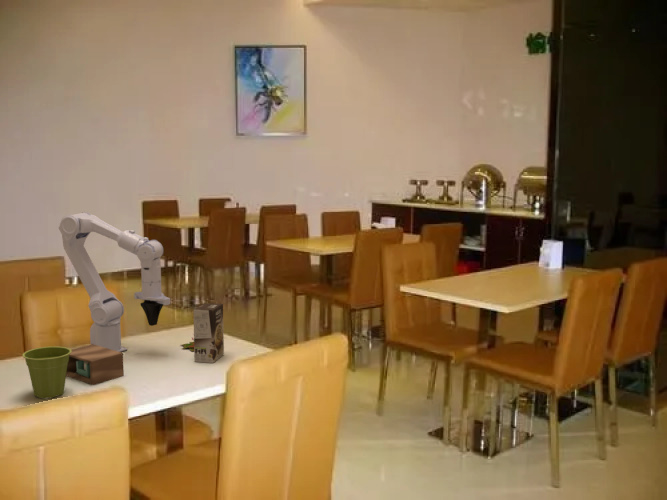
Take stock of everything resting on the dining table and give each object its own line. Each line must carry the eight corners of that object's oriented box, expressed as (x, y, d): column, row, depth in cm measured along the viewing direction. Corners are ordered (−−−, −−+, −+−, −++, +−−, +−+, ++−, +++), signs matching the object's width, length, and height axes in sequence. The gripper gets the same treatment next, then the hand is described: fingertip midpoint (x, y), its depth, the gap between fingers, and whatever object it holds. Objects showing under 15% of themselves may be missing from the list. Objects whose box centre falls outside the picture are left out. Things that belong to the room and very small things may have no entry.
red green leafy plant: (173, 346, 237) (172, 332, 236) (207, 340, 244) (207, 327, 243) (188, 355, 227) (188, 341, 227) (224, 349, 234) (223, 335, 233)
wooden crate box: (63, 374, 208) (61, 352, 207) (93, 366, 215) (92, 344, 214) (93, 385, 199) (91, 361, 198) (123, 375, 207) (122, 352, 206)
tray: (77, 376, 206) (76, 361, 205) (107, 367, 214) (106, 352, 213) (87, 380, 203) (87, 364, 202) (118, 371, 211) (117, 356, 210)
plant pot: (78, 396, 191) (76, 354, 189) (30, 405, 184) (27, 362, 183) (67, 383, 200) (65, 343, 199) (21, 391, 194) (18, 350, 192)
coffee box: (214, 363, 218) (213, 310, 216) (193, 362, 220) (192, 309, 217) (224, 354, 227) (223, 303, 225) (205, 353, 228) (203, 302, 226)
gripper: (177, 281, 222) (179, 325, 224) (146, 276, 230) (148, 318, 233) (159, 285, 216) (160, 330, 218) (127, 279, 225) (129, 323, 227)
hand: (152, 324), depth 225 cm, fingers closed
